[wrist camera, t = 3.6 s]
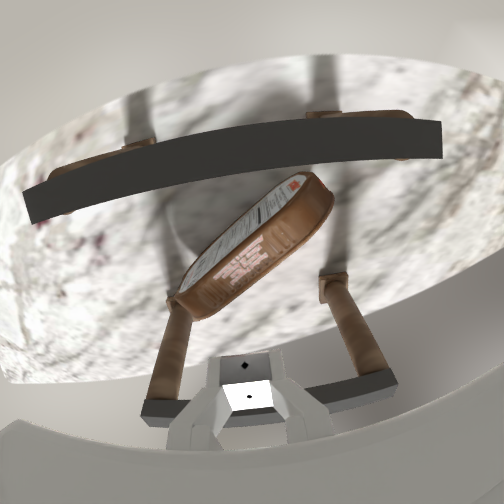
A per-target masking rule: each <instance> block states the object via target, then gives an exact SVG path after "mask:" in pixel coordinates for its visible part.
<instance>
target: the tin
mask: <svg viewBox="0 0 504 504" xmlns="http://www.w3.org/2000/svg"><path fill="white" fill-rule="evenodd" d="M334 199H335V198H334V195H333V193H332V192H331V191H329V190H328V189H327V188H326V187H325V185H324V184H323V183H322V181H321V180H320V179H319V178H318V177H317V176H316V175H315V174H314V173H313V172H305V171H304V172H299V173H296V174H294V175H292V176H291V177H289V178H287V179H286V180H284V181H283V182H281V183H280V184H279V185H277V186H276V187H275V188H274V189H272V190H271V191H270V192H269V193H268V194H266V195H265V196H264V197H263V198H262V199H261V200H259V201H258V202H257V203H256V204H255V205H254V206H252V207H251V208H250V209H249V210H248V211H247V212H245V213H244V214H243V215H242V216H241V217H240V218H239V219H237V220H236V221H235V222H234V223H233V224H232V225H231V226H230V227H229V228H228V229H226V230H225V231H224V232H223V233H222V234H221V235H220V236H219V237H218V238H217V239H216V240H215V241H214V242H212V243H211V244H210V245H209V246H208V247H207V248H206V249H205V250H204V252H203V253H202V254H201V255H200V256H199V257H198V258H197V259H196V260H195V261H194V263H193V264H192V265H191V266H190V268H189V269H188V270H187V272H186V273H185V275H184V277H183V280H182V282H181V284H180V286H179V288H178V290H177V293H176V294H175V295H174V298H175V299H176V300H177V302H178V303H179V304H180V305H182V306H183V307H184V308H185V309H186V310H187V311H189V312H190V313H191V314H192V315H193V317H194V318H195V319H196V320H203V319H206V318H208V317H210V316H212V315H214V314H216V313H217V312H218V311H220V310H221V309H222V308H224V307H225V306H226V305H228V304H229V303H230V302H232V301H233V300H234V299H235V298H237V297H238V296H239V295H241V294H242V293H243V292H244V291H246V290H247V289H248V288H249V287H251V286H252V285H253V284H255V283H256V282H257V281H258V280H260V279H261V278H262V277H264V276H265V275H266V274H267V273H269V272H270V271H271V270H272V269H274V268H275V267H276V266H278V265H279V264H280V263H281V262H282V261H284V260H285V259H286V258H287V257H289V256H290V255H291V254H293V253H294V252H295V251H296V250H298V249H299V248H300V247H301V246H302V245H304V244H305V243H306V242H307V241H308V240H309V239H310V238H311V237H312V236H313V235H314V234H315V233H316V232H317V231H318V229H319V228H320V227H321V226H322V224H323V223H324V222H325V220H326V219H327V217H328V216H329V214H330V212H331V210H332V208H333V205H334V201H335V200H334Z"/></svg>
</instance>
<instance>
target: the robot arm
mask: <svg viewBox="0 0 504 504" xmlns="http://www.w3.org/2000/svg"><path fill="white" fill-rule="evenodd" d="M267 406H273V407H274V408H275V409H276V410H277V412H278V413H279V414H280V415H281V416H282V417H283V418H284V419H285V425H286V432H287V442H288V444H286V445H279V446H271V447H263V448H254V449H241V450H224V449H223V448H222V446H221V445H220V443H219V442H218V440H217V438H216V437H217V435H218V434H219V432H220V431H221V429H222V428H223V426H224V425H225V423H226V421H227V420H228V418H229V417H230V415H231V413H232V412H233V411H232V410H240V409H248V408H257V407H267ZM0 504H504V362H503V363H501V364H499V365H497V366H496V367H494V368H493V369H491V370H490V371H488V372H486V373H485V374H483V375H482V376H480V377H478V378H476V379H475V380H473V381H471V382H470V383H468V384H466V385H464V386H462V387H461V388H458V389H457V390H455V391H453V392H451V393H449V394H447V395H445V396H443V397H441V398H438V399H436V400H434V401H432V402H430V403H428V404H425V405H423V406H421V407H418V408H416V409H414V410H411V411H409V412H406V413H404V414H401V415H398V416H396V417H393V418H390V419H387V420H384V421H381V422H378V423H375V424H372V425H369V426H366V427H362V428H359V429H356V430H352V431H348V432H345V433H341V434H337V435H335V432H334V428H333V425H332V421H331V417H330V414H329V410H328V408H327V407H325V406H324V405H323V404H321V403H320V402H319V401H318V400H316V399H315V398H314V397H313V396H312V395H310V394H309V393H308V392H307V391H305V390H304V389H303V388H302V387H300V386H299V385H298V384H297V383H296V382H294V381H293V380H292V379H291V378H286V373H285V367H284V362H283V356H282V351H281V349H275V350H269V352H268V351H262V352H255V353H248V354H242V355H231V356H221V357H209V359H208V368H207V378H206V388H202V389H201V390H200V391H199V392H198V393H197V394H196V396H195V397H194V398H193V399H192V400H191V401H190V402H189V403H188V404H187V406H186V407H185V408H184V409H183V410H182V411H181V412H180V413H179V414H178V416H177V417H176V418H175V419H174V420H173V421H172V422H171V423H170V425H169V432H168V439H167V445H166V450H162V449H151V448H141V447H132V446H125V445H118V444H112V443H107V442H101V441H96V440H92V439H87V438H82V437H78V436H74V435H70V434H67V433H63V432H60V431H56V430H53V429H50V428H46V427H43V426H40V425H37V424H34V423H32V422H29V421H26V420H23V419H18V420H16V421H14V422H12V423H11V424H9V425H8V426H6V427H5V428H4V429H2V430H1V431H0Z"/></svg>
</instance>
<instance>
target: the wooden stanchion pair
mask: <svg viewBox="0 0 504 504" xmlns="http://www.w3.org/2000/svg"><path fill="white" fill-rule="evenodd" d="M328 117H393V118H411V119H414V118H413V116H411V115H410V114H409V113H407V112H405V111H403V110H378V111H361V112H348V113H342V111H322V112H307V113H306V118H307V119H310V118H328ZM155 143H156V140H155V137H154V138H150V139H146V140H143V141H139V142H136V143H132V144H129V145H126V146H122V147H121V148H122V149H120V150H116V151H113V152H109V153H105V154H101V155H98V156H94V157H91V158H87V159H84V160H81V161H78V162H74V163H71V164H68V165H65V166H62V167H59V168H57V169H55V170H53V171H52V172H51V173H50V175H49V177H48V179H47V180H49V179H52V178H54V177H56V176H59V175H61V174H64V173H66V172H69V171H71V170H74V169H77V168H79V167H82V166H85V165H87V164H90V163H93V162H96V161H99V160H102V159H105V158H108V157H111V156H114V155H117V154H120V153H123V152H127V151H130V150H133V149H137V148H140V147H144V146H148V145H151V144H155ZM395 160H399V161H404V160H408V159H395ZM75 211H76V210H75ZM73 212H74V211H72V212H69V213H65V214H62V215H68V214H71V213H73ZM319 301H320V303H321V304H324V303H328V305H329V307H330V309H331V312H332V314H333V316H334V319H335V321H336V323H337V326H338V328H339V330H340V333H341V335H342V338H343V340H344V342H345V345H346V347H347V350H348V352H349V354H350V356H351V360H352V362H353V365H354V367H355V370H356V372H357V375H358V377H360V376H364V375H368V374H371V373H375V372H378V371H382V370H385V369H389V366H388V364H387V362H386V360H385V358H384V356H383V354H382V352H381V350H380V348H379V346H378V344H377V343H376V340H375V339H374V337H373V335H372V333H371V331H370V329H369V327H368V325H367V324H366V322H365V320H364V318H363V316H362V315H361V313H360V311H359V309H358V307H357V306H356V304H355V302H354V300H353V298H352V297H351V295H350V293H349V291H348V274H347V273H346V272H342V273H336V274H330V275H324V276H319ZM166 303H167V306H168V309H169V311H170V317H169V320H168V323H167V326H166V330H165V333H164V336H163V339H162V343H161V346H160V349H159V353H158V356H157V360H156V363H155V367H154V370H153V374H152V378H151V381H150V385H149V388H148V393H147V396H146V399H150V400H178V394H179V388H180V383H181V378H182V372H183V367H184V361H185V356H186V351H187V346H188V341H189V336H190V331H191V326H192V322H195V321H200V320H196V319H195V318H194V317H193V315H192V314H191V313H190V312H189V311H187V310H186V309H185V308H184V307H183V306H182V305H180V304H179V303H178V302H177V300H176V299H175V298H174V297H167V300H166Z"/></svg>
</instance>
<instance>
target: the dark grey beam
mask: <svg viewBox="0 0 504 504" xmlns="http://www.w3.org/2000/svg"><path fill="white" fill-rule="evenodd" d="M397 386H398V382H397V380H396V378H395V376H394V374H393V372H392V370H391V368H389V369H385V370H382V371H378V372H375V373H371V374H368V375H364V376H360V377H356V378H352V379H349V380H344V381H340V382H336V383H331V384H326V385H321V386H316V387H311V388H306V389H304V390H305V391H307V392H308V393H309V394H310V395H312V396H313V397H314V398H315V399H316V400H318V401H319V402H320V403H321V404H323V405H324V406H325V407H327V408H328V410H329V414H332V413H336V412H340V411H344V410H348V409H352V408H356V407H360V406H364V405H367V404H371V403H374V402H377V401H381V400H384V399H387V398H390V397H393V396H394V394H395V391H396V389H397ZM190 401H191V400H150V399H145V400H144V404H143V407H142V411H141V418H142V419H143V420H144V421H145V422H146V423H147V424H148V426H149V427H163V428H169V425H170V423H171V422H172V421H173V420H174V419H175V418H176V417H177V416H178V414H179V413H180V412H181V411H182V410H183V409H184V408H185V407H186V406H187V404H188V403H189V402H190ZM232 411H233V412H232V413H231V415H230V417H229V418H228V420H227V421H226V423H225V425H224V426H223V428H229V427H243V426H254V425H255V426H256V425H265V424H274V423H281V422H285V419H284V418H283V417H282V416H281V415H280V414H279V413H278V412H277V410H276V409H275V408H274V407H273V406H267V407H257V408H248V409H240V410H232Z"/></svg>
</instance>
